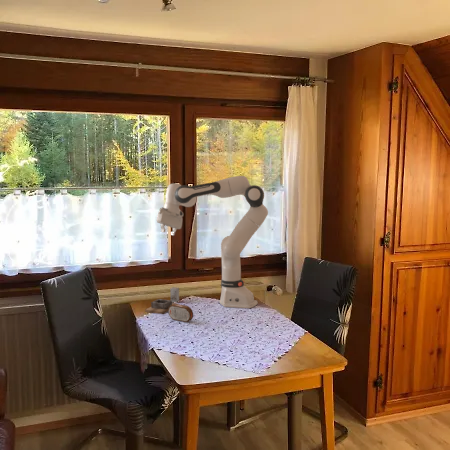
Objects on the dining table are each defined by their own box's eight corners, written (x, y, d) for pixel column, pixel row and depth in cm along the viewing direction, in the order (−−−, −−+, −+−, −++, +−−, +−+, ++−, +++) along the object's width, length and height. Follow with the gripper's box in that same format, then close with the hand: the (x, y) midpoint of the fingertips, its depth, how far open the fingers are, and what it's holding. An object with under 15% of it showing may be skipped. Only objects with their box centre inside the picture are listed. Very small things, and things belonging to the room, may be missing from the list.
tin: (193, 322, 255) (193, 306, 254) (190, 323, 252) (189, 308, 251) (171, 317, 263) (170, 302, 262) (167, 319, 260) (167, 303, 259)
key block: (179, 301, 292) (178, 287, 291) (176, 302, 290) (176, 288, 289) (173, 300, 294) (172, 287, 293) (170, 302, 291) (170, 288, 290)
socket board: (177, 305, 284) (177, 298, 283) (162, 314, 268) (162, 306, 268) (161, 303, 288) (161, 296, 288) (145, 311, 273) (145, 304, 272)
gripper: (164, 206, 276) (161, 230, 274) (185, 214, 294) (182, 237, 291) (155, 206, 279) (152, 230, 277) (176, 214, 297) (173, 236, 294)
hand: (167, 233), depth 284 cm, fingers open, 8 cm apart
